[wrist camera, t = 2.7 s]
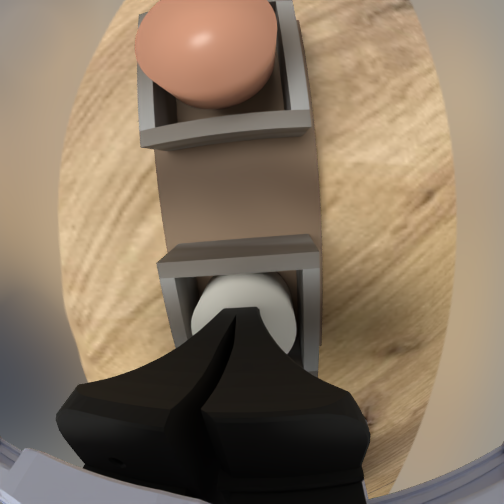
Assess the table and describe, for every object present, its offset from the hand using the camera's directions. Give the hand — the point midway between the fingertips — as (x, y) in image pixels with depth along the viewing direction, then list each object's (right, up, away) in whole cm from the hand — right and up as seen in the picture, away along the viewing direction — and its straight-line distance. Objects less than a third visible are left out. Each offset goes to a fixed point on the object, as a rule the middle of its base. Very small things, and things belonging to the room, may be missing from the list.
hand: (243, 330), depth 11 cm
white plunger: (0, +1, +2) cm, 2 cm away
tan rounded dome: (-1, +10, -2) cm, 10 cm away
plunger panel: (0, +6, +3) cm, 6 cm away
